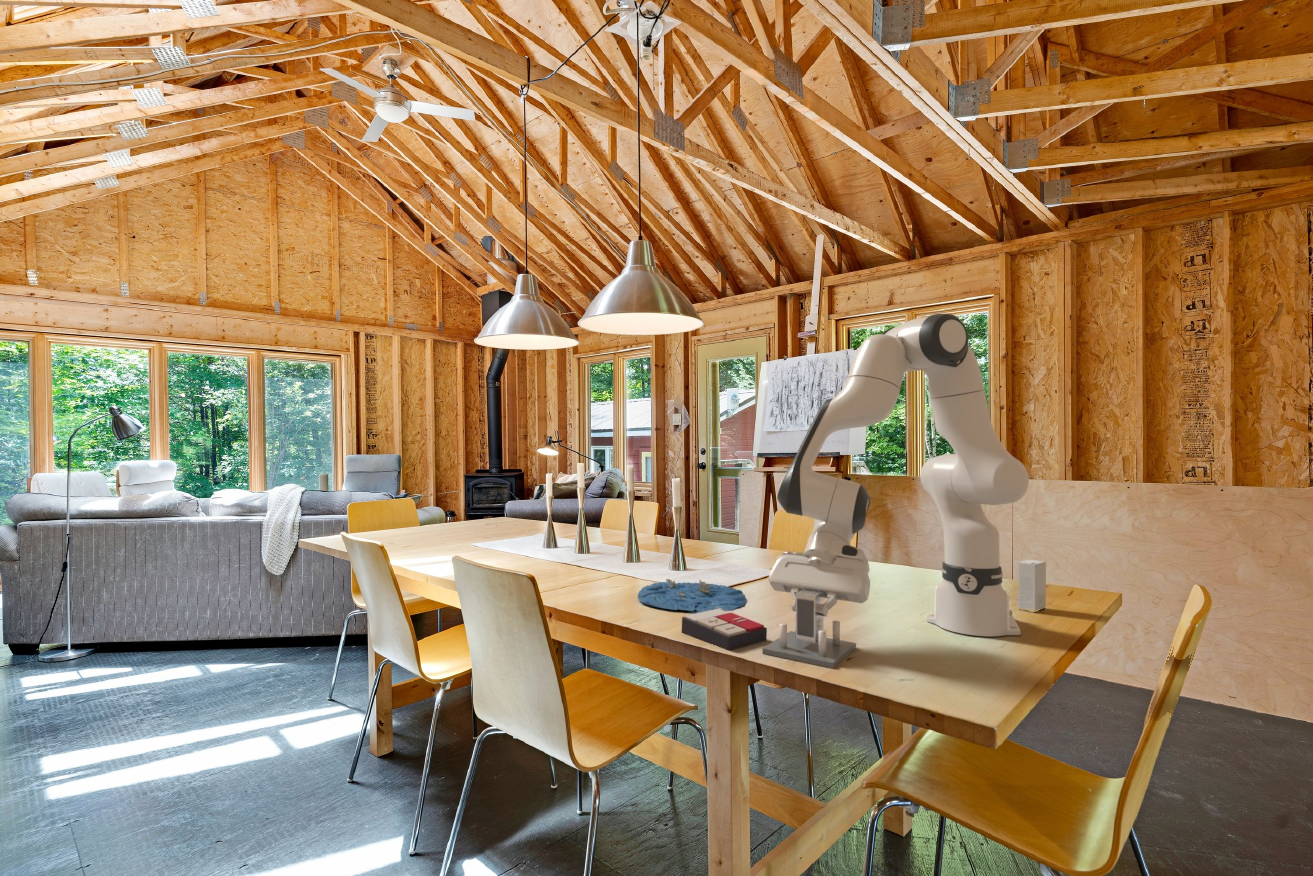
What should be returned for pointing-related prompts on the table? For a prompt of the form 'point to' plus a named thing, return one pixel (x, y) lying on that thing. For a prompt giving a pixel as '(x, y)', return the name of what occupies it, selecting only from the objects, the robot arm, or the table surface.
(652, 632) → the table surface
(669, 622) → the table surface
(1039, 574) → the skincare box
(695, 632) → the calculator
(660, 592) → the blue sea diorama
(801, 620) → the block
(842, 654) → the pin tray
